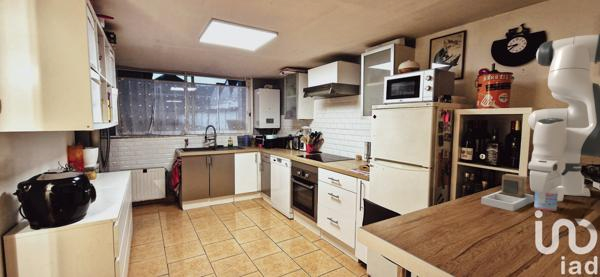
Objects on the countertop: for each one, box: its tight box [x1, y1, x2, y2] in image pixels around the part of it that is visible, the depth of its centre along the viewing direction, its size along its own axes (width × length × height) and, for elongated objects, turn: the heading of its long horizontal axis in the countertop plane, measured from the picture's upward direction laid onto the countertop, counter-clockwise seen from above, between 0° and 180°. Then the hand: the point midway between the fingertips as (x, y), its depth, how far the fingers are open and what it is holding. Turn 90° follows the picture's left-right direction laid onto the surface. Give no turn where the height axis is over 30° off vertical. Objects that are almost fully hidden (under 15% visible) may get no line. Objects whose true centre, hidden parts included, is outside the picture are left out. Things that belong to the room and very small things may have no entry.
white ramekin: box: [555, 186, 565, 202], centre depth 105 cm, size 7×7×7 cm
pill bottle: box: [533, 182, 558, 212], centre depth 94 cm, size 6×6×11 cm
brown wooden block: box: [501, 173, 527, 198], centre depth 103 cm, size 6×6×10 cm
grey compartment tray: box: [480, 189, 535, 212], centre depth 101 cm, size 20×10×4 cm, turn 123°
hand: (545, 200), depth 94 cm, fingers closed on pill bottle, 6 cm apart
